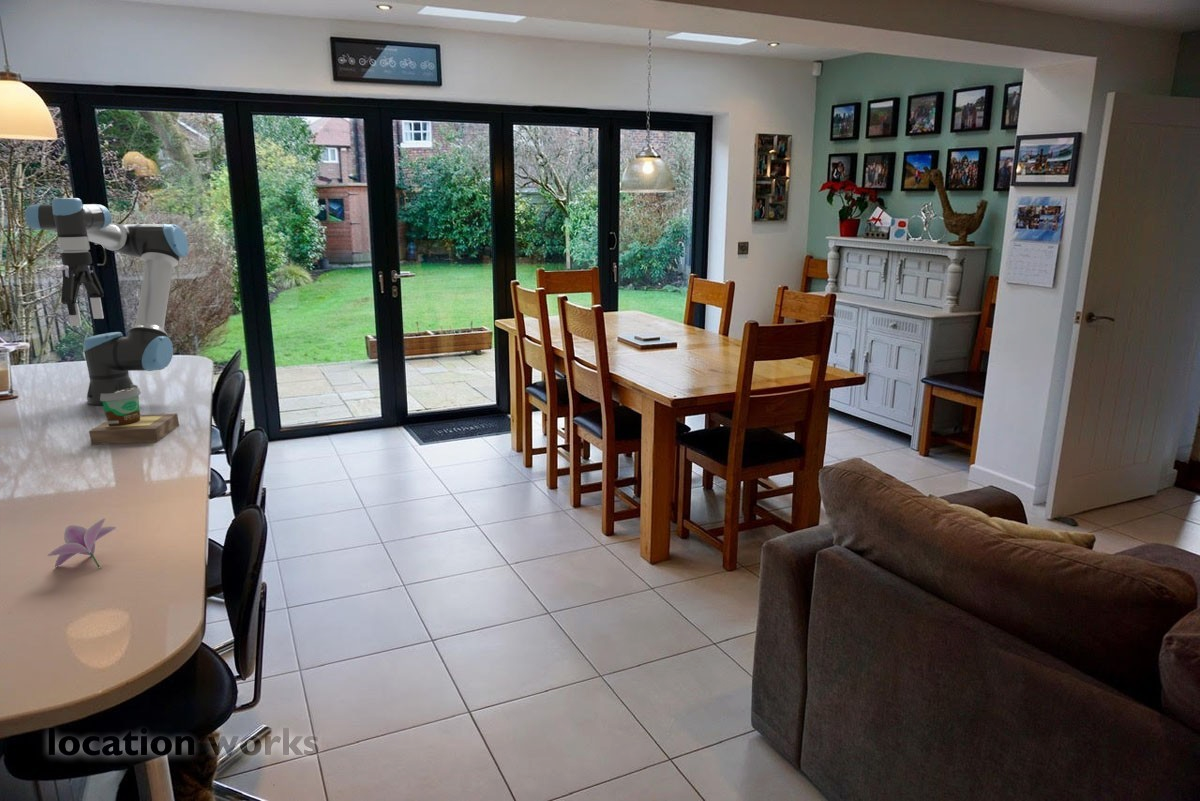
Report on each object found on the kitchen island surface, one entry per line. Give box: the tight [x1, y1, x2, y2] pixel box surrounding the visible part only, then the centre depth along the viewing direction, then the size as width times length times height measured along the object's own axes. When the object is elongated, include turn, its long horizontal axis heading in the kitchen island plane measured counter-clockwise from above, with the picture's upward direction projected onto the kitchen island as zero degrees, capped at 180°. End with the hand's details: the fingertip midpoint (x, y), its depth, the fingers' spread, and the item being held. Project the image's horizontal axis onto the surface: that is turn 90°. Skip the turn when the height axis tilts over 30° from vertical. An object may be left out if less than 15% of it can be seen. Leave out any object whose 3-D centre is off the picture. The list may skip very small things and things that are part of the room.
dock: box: [88, 413, 180, 445], centre depth 233 cm, size 16×18×4 cm
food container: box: [100, 384, 142, 426], centre depth 231 cm, size 12×6×10 cm, turn 168°
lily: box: [47, 518, 117, 568], centre depth 152 cm, size 12×12×10 cm
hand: (87, 322), depth 239 cm, fingers open, 13 cm apart
